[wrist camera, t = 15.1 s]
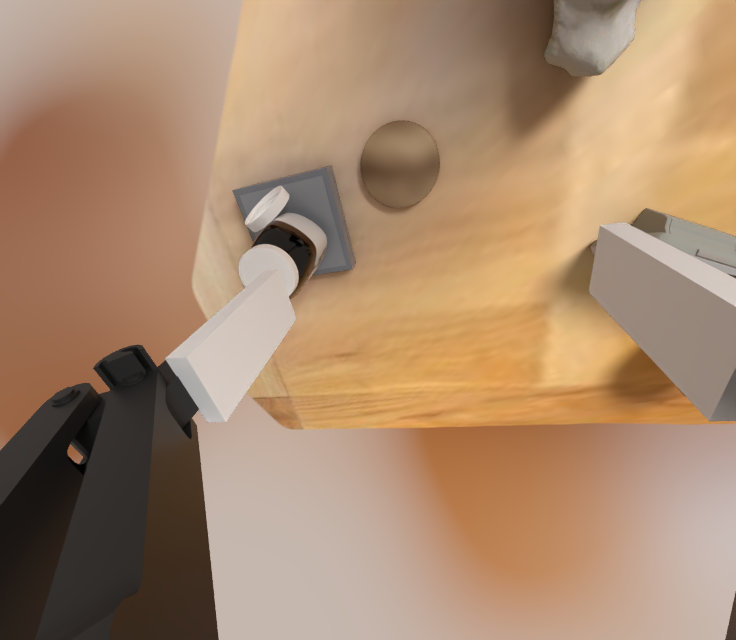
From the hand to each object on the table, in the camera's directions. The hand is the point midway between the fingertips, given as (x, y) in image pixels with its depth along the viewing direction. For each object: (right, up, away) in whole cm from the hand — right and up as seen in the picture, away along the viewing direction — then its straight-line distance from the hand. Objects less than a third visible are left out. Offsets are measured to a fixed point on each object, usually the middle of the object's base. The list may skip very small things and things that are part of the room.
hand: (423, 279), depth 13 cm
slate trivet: (-13, +12, +34) cm, 38 cm away
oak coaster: (+2, +18, +27) cm, 33 cm away
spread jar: (-13, +11, +32) cm, 36 cm away
